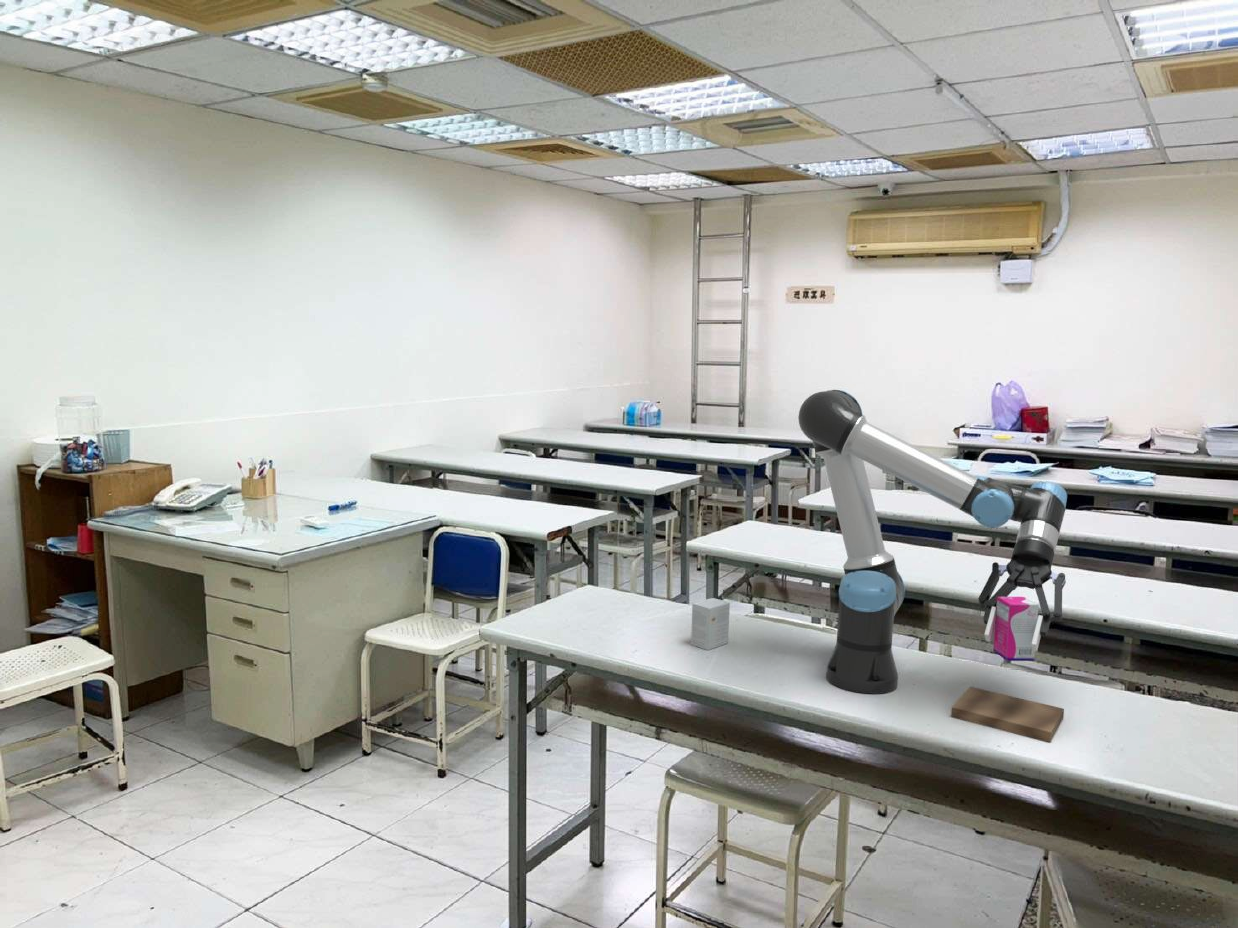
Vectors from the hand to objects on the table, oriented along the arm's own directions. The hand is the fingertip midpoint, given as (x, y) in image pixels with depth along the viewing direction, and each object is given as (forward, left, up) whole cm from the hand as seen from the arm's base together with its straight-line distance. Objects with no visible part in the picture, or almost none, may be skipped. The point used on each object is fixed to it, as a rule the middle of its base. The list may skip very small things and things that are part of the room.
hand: (1010, 642), depth 167 cm
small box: (-68, +2, -17) cm, 70 cm away
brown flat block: (0, +3, -16) cm, 17 cm away
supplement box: (0, +3, -4) cm, 5 cm away
